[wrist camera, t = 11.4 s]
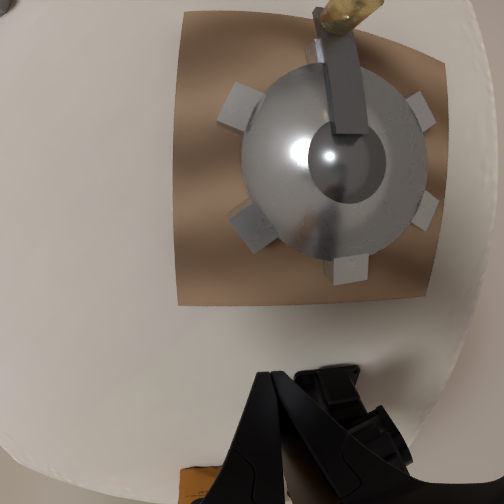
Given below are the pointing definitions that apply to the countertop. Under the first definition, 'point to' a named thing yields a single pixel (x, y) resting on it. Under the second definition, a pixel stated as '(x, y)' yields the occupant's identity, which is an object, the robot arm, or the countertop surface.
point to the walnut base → (230, 176)
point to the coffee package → (196, 484)
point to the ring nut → (331, 153)
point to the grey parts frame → (4, 6)
